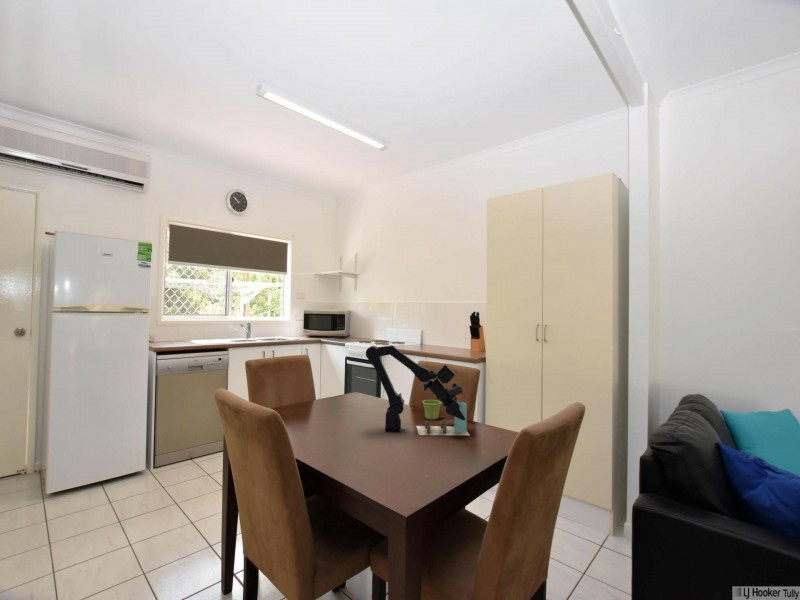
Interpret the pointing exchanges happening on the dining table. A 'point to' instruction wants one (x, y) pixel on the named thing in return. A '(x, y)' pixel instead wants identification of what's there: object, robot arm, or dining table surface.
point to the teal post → (458, 423)
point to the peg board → (438, 430)
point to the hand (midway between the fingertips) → (463, 416)
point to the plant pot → (431, 408)
